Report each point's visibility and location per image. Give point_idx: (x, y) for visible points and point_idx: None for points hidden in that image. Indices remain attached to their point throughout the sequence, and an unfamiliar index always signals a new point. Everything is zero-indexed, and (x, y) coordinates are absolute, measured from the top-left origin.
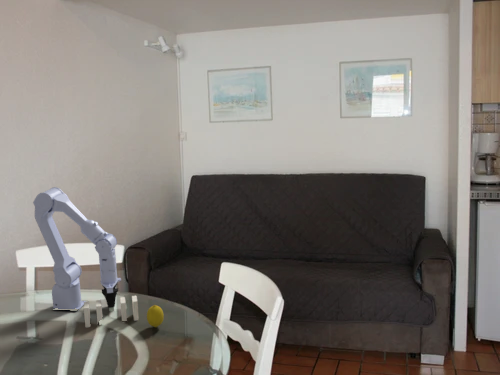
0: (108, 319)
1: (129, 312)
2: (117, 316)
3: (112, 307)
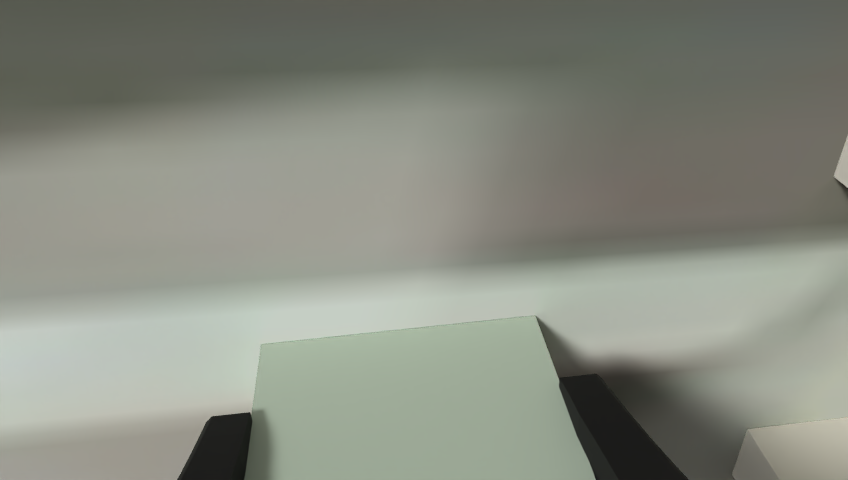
0: (826, 359)
1: (755, 14)
2: (802, 244)
3: (552, 389)
